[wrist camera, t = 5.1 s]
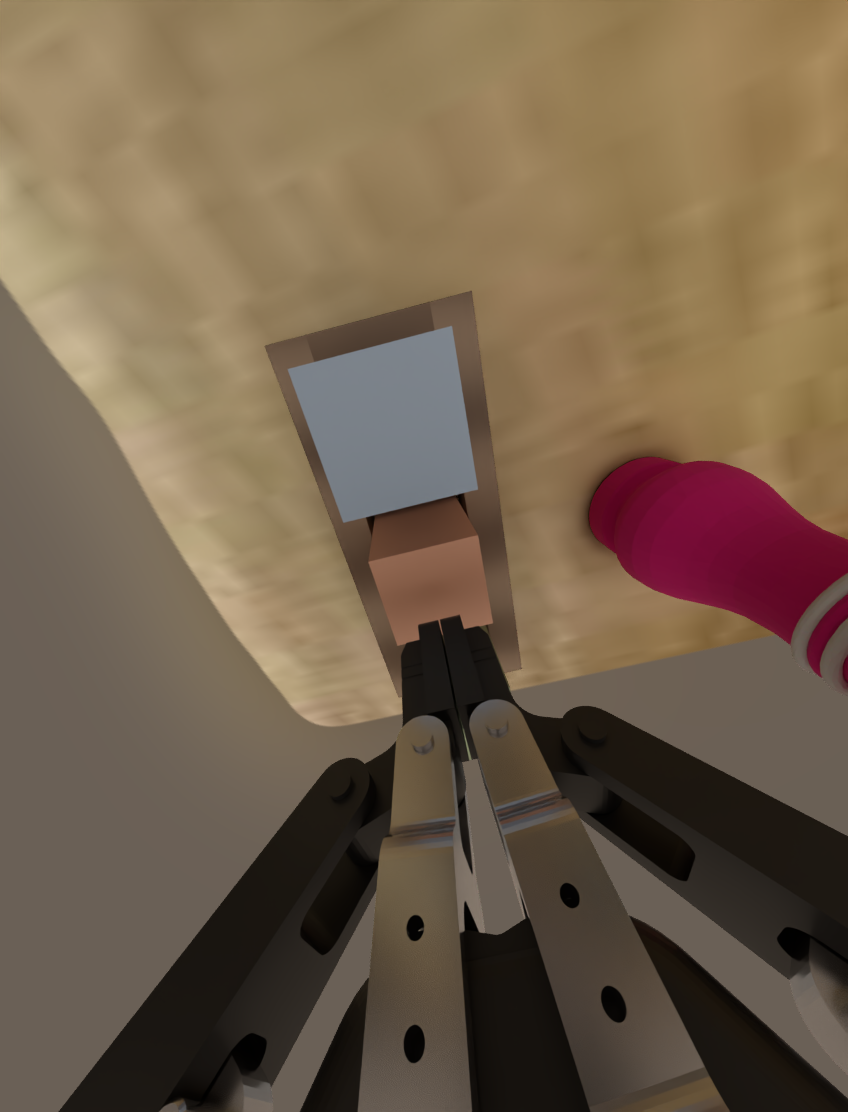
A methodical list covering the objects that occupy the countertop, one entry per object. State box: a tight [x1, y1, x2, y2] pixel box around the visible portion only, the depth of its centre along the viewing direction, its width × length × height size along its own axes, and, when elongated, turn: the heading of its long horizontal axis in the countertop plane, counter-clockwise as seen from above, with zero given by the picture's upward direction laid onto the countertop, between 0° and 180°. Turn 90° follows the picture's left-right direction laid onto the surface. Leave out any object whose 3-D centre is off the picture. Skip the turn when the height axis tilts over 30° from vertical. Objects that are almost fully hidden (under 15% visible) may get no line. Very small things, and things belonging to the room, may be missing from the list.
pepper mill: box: [589, 457, 848, 696], centre depth 13 cm, size 7×7×20 cm
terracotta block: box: [368, 495, 493, 646], centre depth 18 cm, size 5×5×7 cm
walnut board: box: [265, 291, 522, 697], centre depth 20 cm, size 22×9×3 cm, turn 13°
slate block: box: [288, 326, 478, 523], centre depth 13 cm, size 5×5×7 cm
